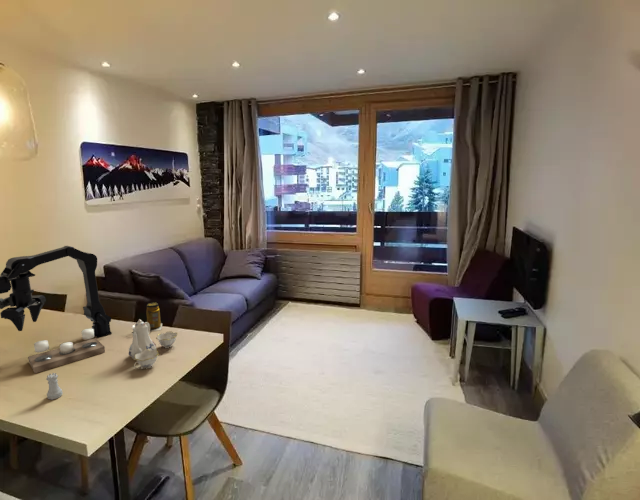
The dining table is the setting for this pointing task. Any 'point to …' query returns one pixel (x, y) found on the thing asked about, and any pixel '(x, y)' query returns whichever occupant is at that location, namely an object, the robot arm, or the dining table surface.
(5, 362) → the dining table surface
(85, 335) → the knob
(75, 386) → the dining table surface
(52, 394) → the rook chess piece
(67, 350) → the knob mid
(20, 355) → the dining table surface
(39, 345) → the knob
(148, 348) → the chinaware
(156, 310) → the condiment
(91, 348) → the knob rail
